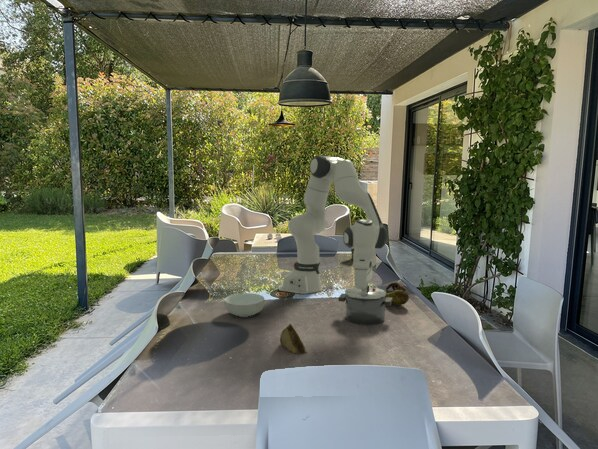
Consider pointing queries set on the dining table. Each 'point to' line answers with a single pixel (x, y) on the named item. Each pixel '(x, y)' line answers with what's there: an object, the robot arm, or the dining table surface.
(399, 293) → the potato
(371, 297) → the lid
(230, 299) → the cereal bowl
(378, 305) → the pot
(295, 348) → the rock
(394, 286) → the pottery mug
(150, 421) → the dining table surface
